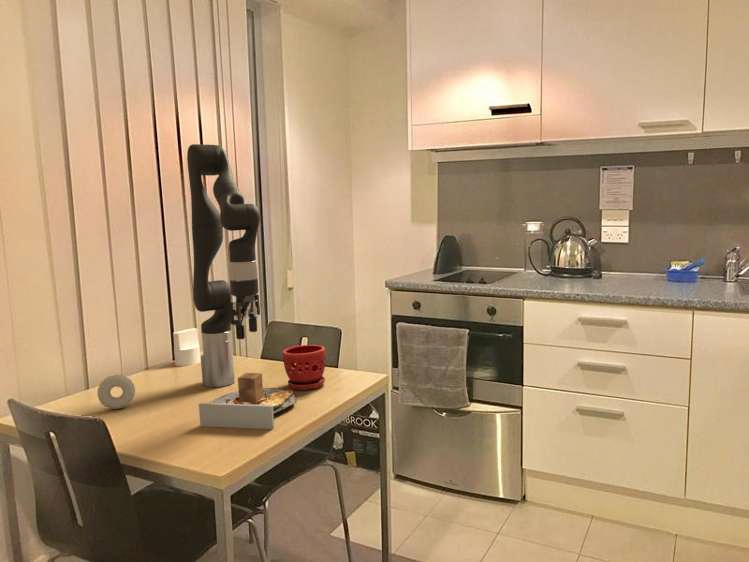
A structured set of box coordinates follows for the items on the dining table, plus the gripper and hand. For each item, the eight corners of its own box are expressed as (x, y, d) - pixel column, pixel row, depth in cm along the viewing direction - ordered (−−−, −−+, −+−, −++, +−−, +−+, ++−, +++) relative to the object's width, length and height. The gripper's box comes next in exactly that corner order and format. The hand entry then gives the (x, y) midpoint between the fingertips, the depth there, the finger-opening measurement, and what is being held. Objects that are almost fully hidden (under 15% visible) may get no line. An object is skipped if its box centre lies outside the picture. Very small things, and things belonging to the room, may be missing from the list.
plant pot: (330, 379, 193) (328, 343, 192) (322, 392, 180) (320, 353, 179) (290, 379, 194) (288, 343, 193) (280, 392, 182) (277, 354, 180)
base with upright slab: (190, 358, 227) (187, 327, 225) (205, 361, 221) (203, 329, 220) (170, 364, 219) (167, 332, 218) (185, 367, 214) (182, 334, 213)
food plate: (251, 389, 185) (250, 378, 185) (312, 400, 174) (311, 389, 173) (189, 418, 164) (188, 406, 164) (253, 433, 152) (252, 420, 152)
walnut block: (239, 402, 167) (237, 377, 166) (247, 396, 171) (245, 372, 170) (256, 402, 166) (254, 378, 165) (263, 397, 170) (261, 373, 169)
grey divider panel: (200, 426, 156) (198, 403, 155) (202, 424, 157) (200, 402, 156) (272, 429, 152) (271, 406, 151) (274, 427, 153) (272, 405, 152)
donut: (98, 413, 169) (95, 378, 167) (99, 409, 172) (96, 375, 171) (136, 408, 172) (133, 374, 171) (136, 404, 175) (133, 371, 174)
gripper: (241, 274, 171) (245, 329, 174) (219, 281, 158) (223, 341, 160) (266, 274, 170) (269, 329, 172) (245, 281, 156) (249, 341, 158)
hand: (247, 335), depth 166 cm, fingers open, 8 cm apart
